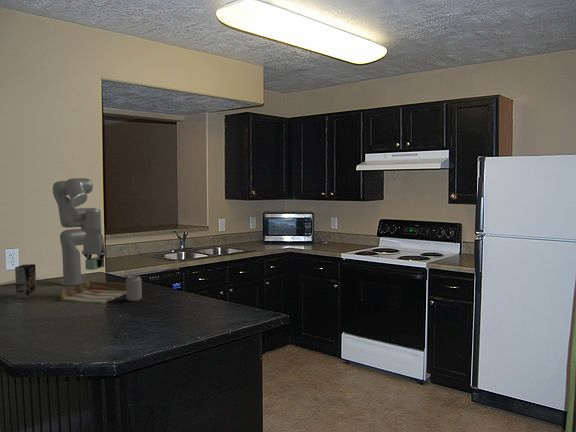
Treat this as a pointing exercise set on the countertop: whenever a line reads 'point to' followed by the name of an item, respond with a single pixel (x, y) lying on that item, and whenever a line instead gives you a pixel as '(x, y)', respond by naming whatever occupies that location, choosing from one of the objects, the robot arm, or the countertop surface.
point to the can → (133, 288)
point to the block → (93, 263)
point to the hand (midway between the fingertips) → (95, 266)
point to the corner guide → (93, 292)
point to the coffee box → (25, 281)
